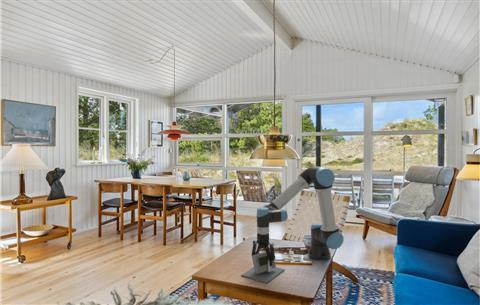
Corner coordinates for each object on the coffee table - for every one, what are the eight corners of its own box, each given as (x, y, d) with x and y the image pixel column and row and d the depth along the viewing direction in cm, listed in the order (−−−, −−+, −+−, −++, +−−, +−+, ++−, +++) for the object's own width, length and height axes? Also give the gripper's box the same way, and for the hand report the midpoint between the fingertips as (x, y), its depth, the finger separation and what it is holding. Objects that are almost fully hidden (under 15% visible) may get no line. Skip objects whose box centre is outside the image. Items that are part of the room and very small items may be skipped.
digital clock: (255, 275, 193) (255, 257, 192) (248, 269, 201) (248, 252, 200) (278, 270, 200) (278, 253, 199) (271, 265, 208) (271, 248, 207)
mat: (260, 264, 215) (260, 263, 215) (284, 270, 204) (284, 269, 204) (241, 276, 196) (241, 274, 196) (267, 283, 186) (267, 282, 186)
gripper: (245, 231, 202) (245, 267, 203) (275, 237, 190) (275, 275, 191) (251, 229, 208) (252, 263, 209) (281, 234, 196) (281, 271, 197)
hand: (263, 269), depth 200 cm, fingers closed on digital clock, 8 cm apart
